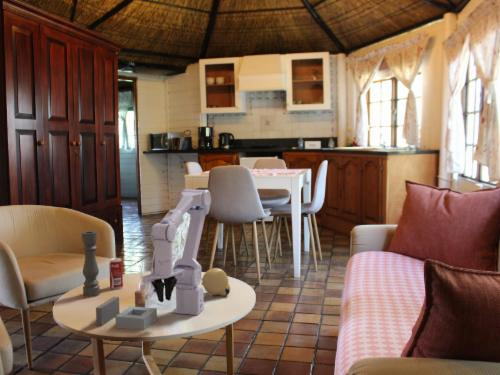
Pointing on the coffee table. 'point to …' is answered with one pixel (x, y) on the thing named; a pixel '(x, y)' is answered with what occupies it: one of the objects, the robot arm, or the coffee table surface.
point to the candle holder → (90, 265)
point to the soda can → (116, 273)
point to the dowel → (140, 298)
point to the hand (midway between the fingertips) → (164, 300)
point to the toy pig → (216, 282)
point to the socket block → (136, 318)
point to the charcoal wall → (107, 311)
